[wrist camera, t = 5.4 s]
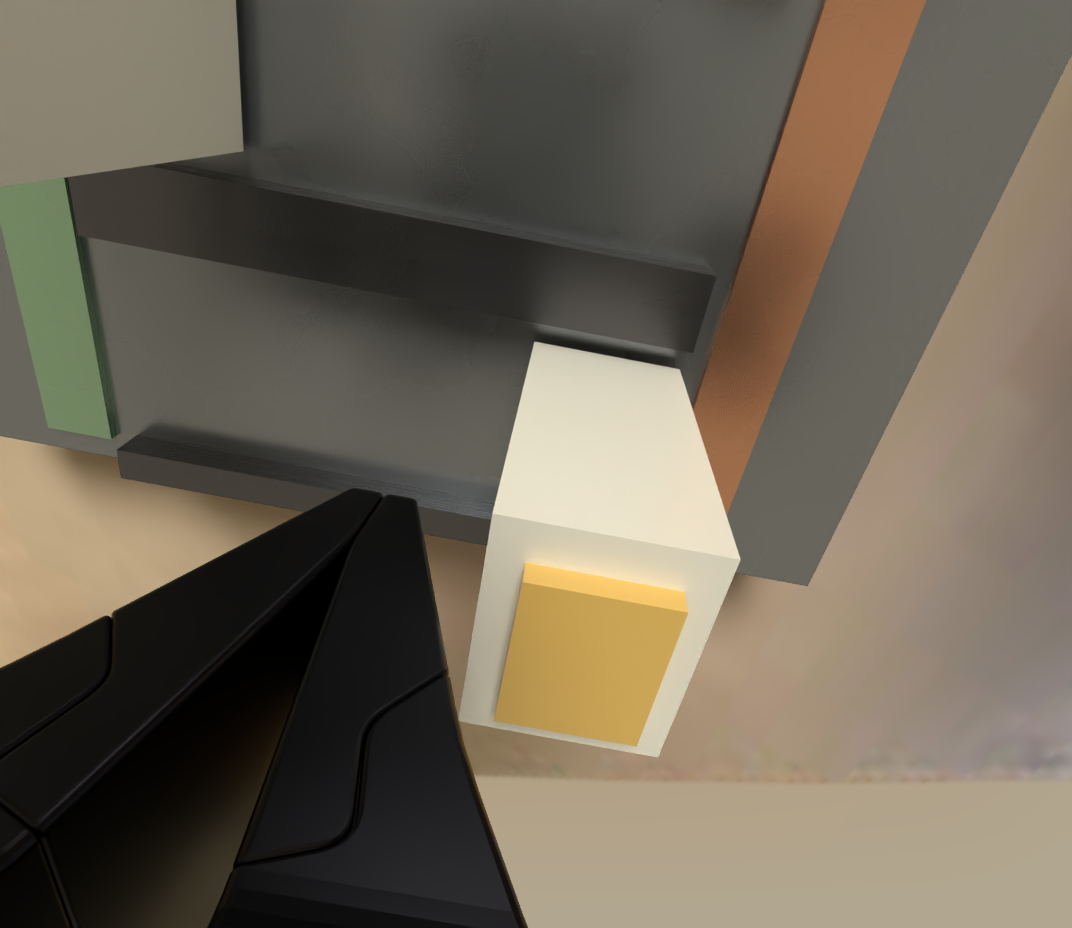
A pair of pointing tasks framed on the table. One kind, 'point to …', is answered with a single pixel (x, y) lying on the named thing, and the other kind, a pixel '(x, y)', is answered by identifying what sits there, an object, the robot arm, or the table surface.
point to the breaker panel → (530, 245)
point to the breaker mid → (115, 85)
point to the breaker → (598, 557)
